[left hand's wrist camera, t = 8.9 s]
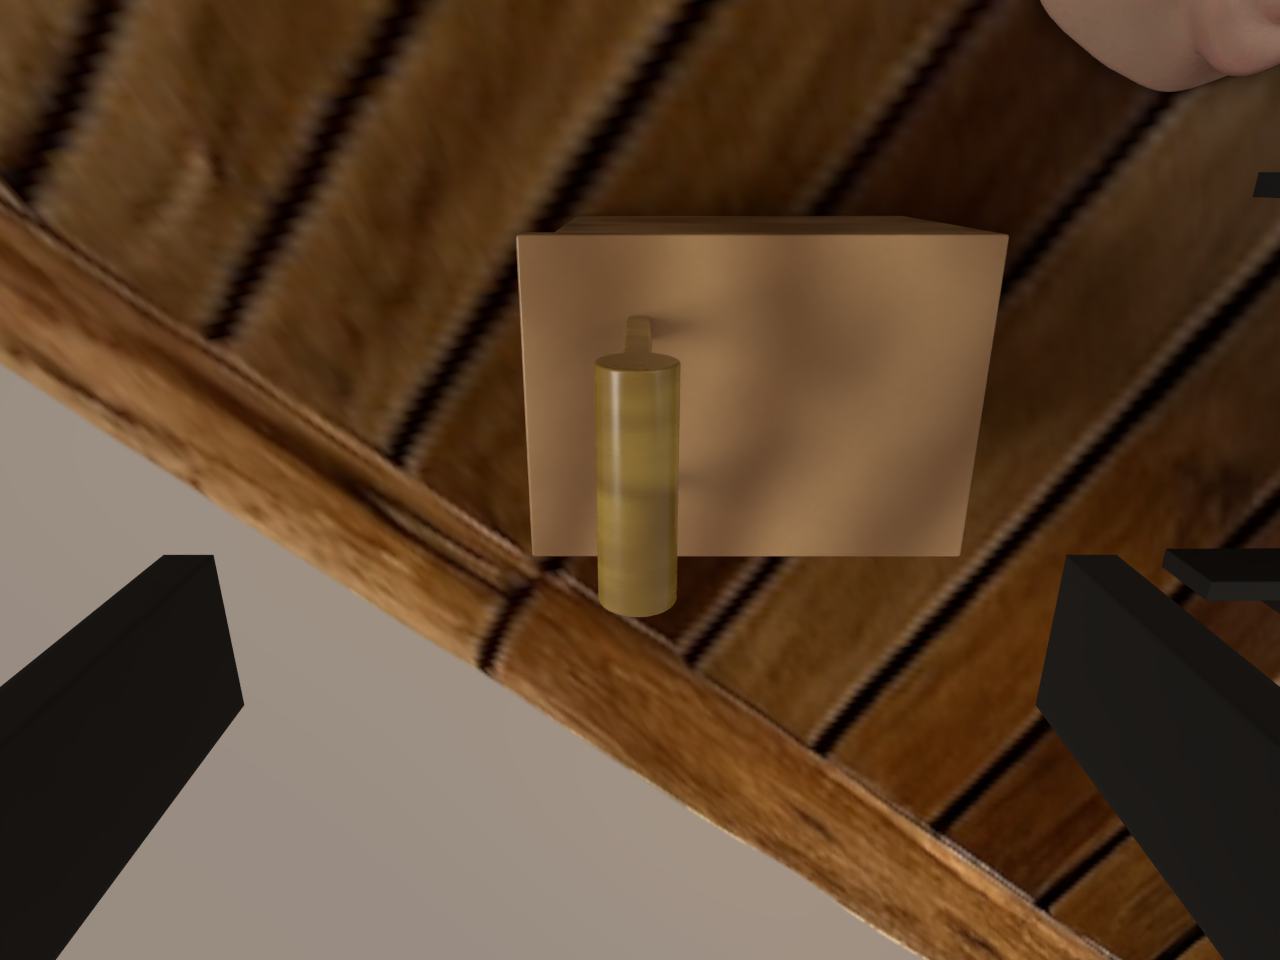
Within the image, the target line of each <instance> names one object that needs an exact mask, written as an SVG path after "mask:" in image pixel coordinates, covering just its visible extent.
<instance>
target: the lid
mask: <svg viewBox="0 0 1280 960" xmlns="http://www.w3.org/2000/svg"><path fill="white" fill-rule="evenodd" d="M1008 241H1009V235H1007V234H1002V233H520V234H518V235H517V236H516V249H517V268H518V288H519V307H520V326H521V346H522V365H523V384H524V403H525V423H526V442H527V461H528V480H529V500H530V519H531V538H532V554H533V556H598V594H599V601H600V603H601V605H602V606H603V607H604V608H606V609H607V610H609V611H611V612H613V613H615V614H619V615H623V616H629V617H646V616H652V615H656V614H660V613H662V612H664V611H666V610H668V609H669V608H671V607H672V606H673V605H674V603H675V601H676V597H677V556H960V553H961V546H962V540H963V533H964V527H965V520H966V514H967V507H968V501H969V494H970V488H971V481H972V475H973V468H974V462H975V455H976V449H977V442H978V436H979V429H980V423H981V416H982V410H983V403H984V397H985V390H986V384H987V377H988V371H989V364H990V358H991V351H992V345H993V338H994V332H995V325H996V319H997V312H998V306H999V299H1000V293H1001V286H1002V280H1003V273H1004V267H1005V260H1006V254H1007V247H1008Z"/></svg>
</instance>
